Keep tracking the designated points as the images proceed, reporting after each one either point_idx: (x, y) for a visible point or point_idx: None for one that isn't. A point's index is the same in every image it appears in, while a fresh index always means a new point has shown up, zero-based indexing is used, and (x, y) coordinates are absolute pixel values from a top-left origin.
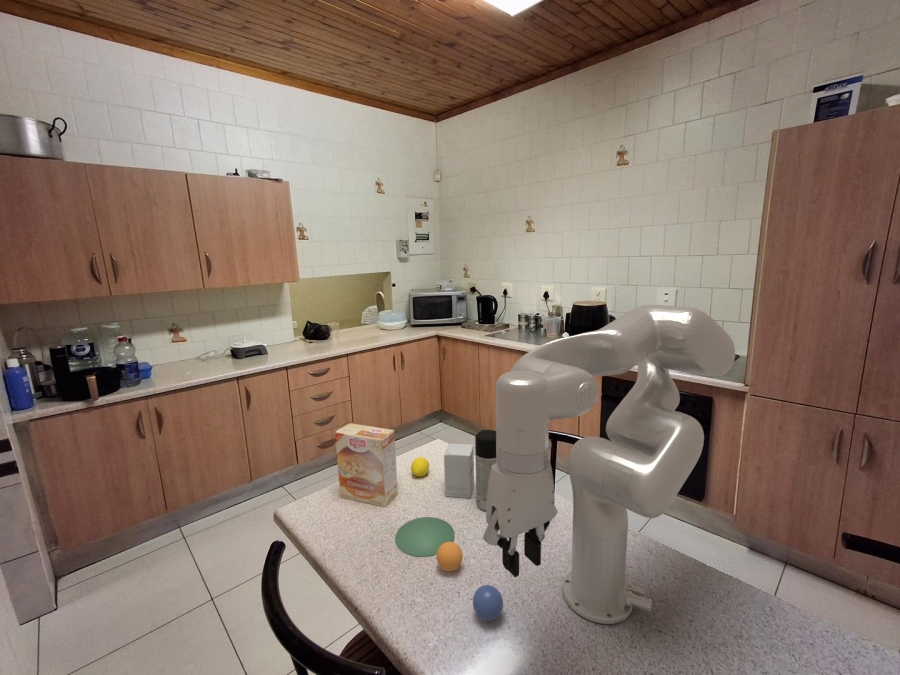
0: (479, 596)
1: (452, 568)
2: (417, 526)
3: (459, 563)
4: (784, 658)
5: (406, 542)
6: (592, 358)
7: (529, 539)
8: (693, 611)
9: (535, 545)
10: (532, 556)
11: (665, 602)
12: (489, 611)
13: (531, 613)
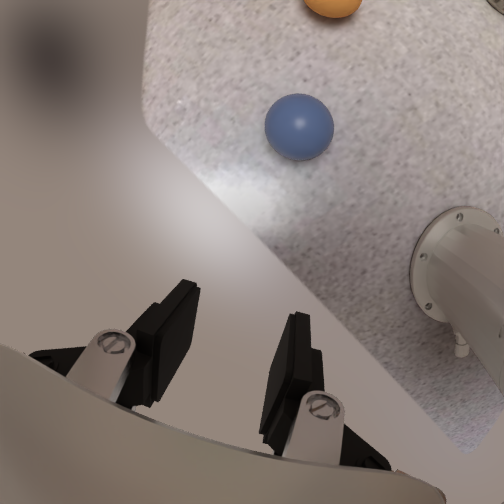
0: (276, 117)
1: (318, 12)
2: None
3: (336, 15)
4: (450, 426)
5: None
6: None
7: (274, 399)
8: None
9: (261, 423)
10: (274, 366)
11: None
12: (276, 149)
13: (363, 192)
